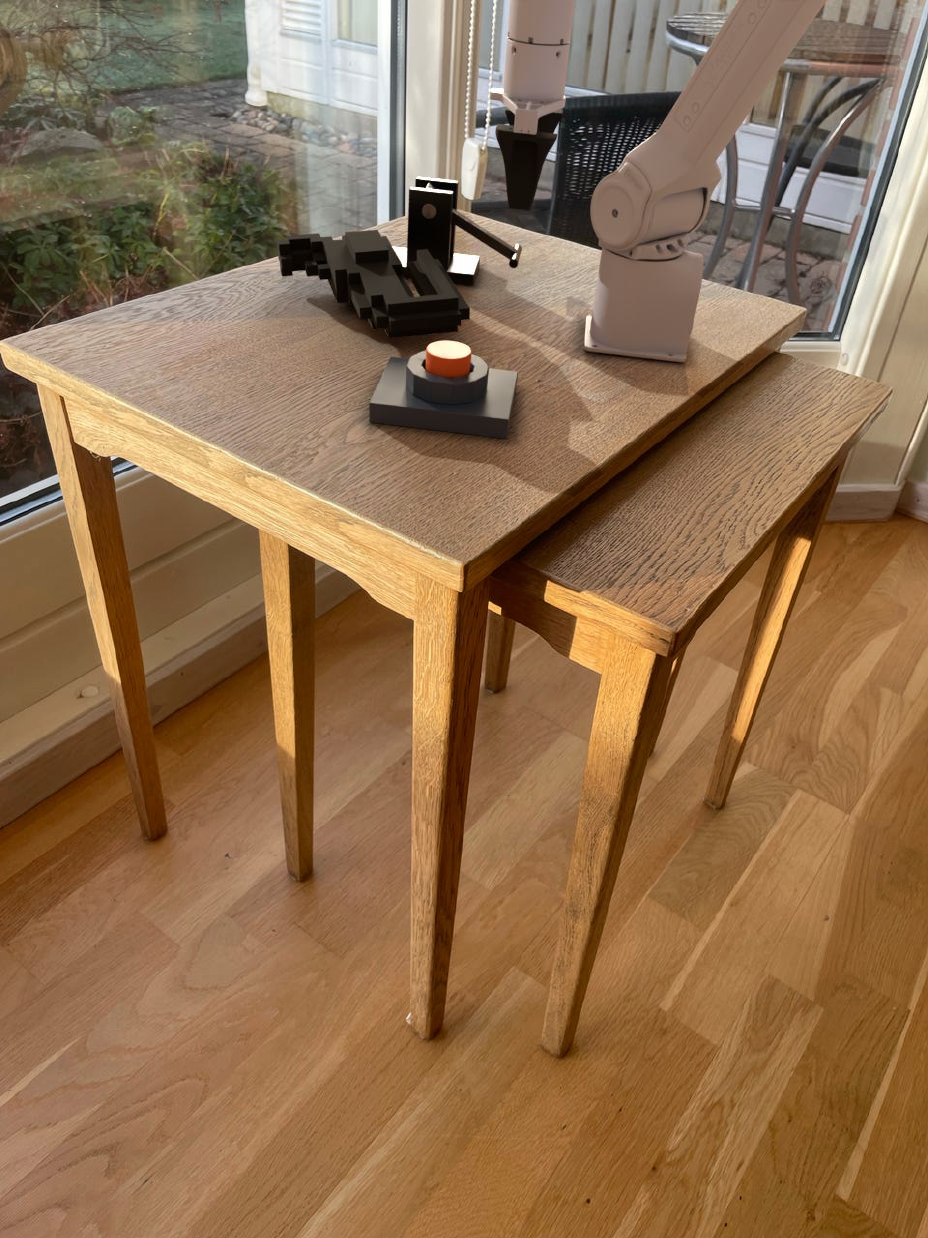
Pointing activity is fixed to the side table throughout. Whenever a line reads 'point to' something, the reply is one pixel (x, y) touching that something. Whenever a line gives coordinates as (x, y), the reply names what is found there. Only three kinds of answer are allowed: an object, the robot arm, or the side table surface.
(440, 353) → the button
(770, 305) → the side table surface
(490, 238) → the switch lever
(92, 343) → the side table surface
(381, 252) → the tool
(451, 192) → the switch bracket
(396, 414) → the button box
